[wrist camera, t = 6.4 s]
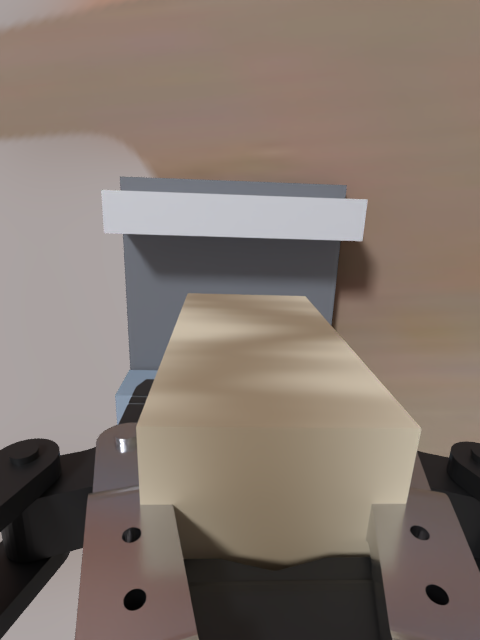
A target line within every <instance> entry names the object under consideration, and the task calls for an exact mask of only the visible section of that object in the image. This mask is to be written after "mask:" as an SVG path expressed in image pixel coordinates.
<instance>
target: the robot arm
mask: <svg viewBox="0 0 480 640" xmlns="http://www.w3.org/2000/svg"><path fill="white" fill-rule="evenodd" d="M153 382H154V379H146V380H144V381H143V382H142V383H140V384H139V385H138V386H136V388H135V390H134V392H133V394H132V397H131V398H130V401H129V404H128V405H127V407H126V409H125V411H124V413H123V416H122V418H121V420H120V422H119V424H118V425H116V426H113V427H111V428H109V429H107V430H105V431H104V432H103V433H102V434H100V436H99V437H98V439H97V442H96V447H94V448H92V449H89V450H85V451H81V452H76V453H70V454H65V455H60V452H59V447H58V445H57V444H56V443H55V442H53V441H51V440H48V439H28V440H24V441H20V442H17V443H14V444H11V445H9V446H7V447H5V448H3V449H2V450H0V532H1V533H2V539H3V541H2V542H0V639H1V638H2V637H3V636H4V634H5V633H6V632H7V631H8V630H9V628H10V627H11V626H12V625H13V624H14V622H15V621H16V620H17V619H18V617H19V616H20V615H21V614H22V613H23V611H24V610H25V609H26V608H27V607H28V605H29V604H30V603H31V602H32V600H33V599H34V598H35V597H36V596H37V594H38V593H39V592H40V591H41V590H42V588H43V587H44V586H45V585H46V583H47V582H48V581H49V580H50V579H51V577H52V576H53V575H54V574H55V573H56V571H57V570H58V569H59V568H60V566H61V565H62V564H63V563H64V561H65V560H66V559H67V557H68V555H69V553H70V551H73V550H76V549H80V548H83V554H82V565H81V576H80V588H79V599H78V610H77V621H76V632H75V640H480V443H475V442H459V443H456V444H454V445H453V446H452V447H451V452H450V456H449V458H448V457H443V456H438V455H433V454H428V453H423V452H419V451H417V453H416V458H415V463H414V468H413V473H412V478H411V483H410V488H409V493H408V498H407V503H406V504H372V505H371V511H370V517H369V523H368V529H367V535H366V541H368V544H369V549H370V557H328V558H322V559H319V560H315V561H311V562H308V563H304V564H300V565H297V566H293V567H289V568H286V569H282V570H277V571H273V570H267V569H263V568H258V567H254V566H250V565H245V564H241V563H236V562H232V561H228V560H223V559H183V555H182V550H181V545H180V539H179V534H178V529H177V524H176V519H175V513H174V508H173V505H140V493H139V474H138V454H137V434H136V426H137V423H138V420H139V418H140V415H141V413H142V410H143V408H144V405H145V402H146V400H147V397H148V395H149V392H150V389H151V387H152V384H153Z"/></svg>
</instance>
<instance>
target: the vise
mask: <svg viewBox="0 0 480 640" xmlns="http://www.w3.org/2000/svg"><path fill="white" fill-rule="evenodd" d="M120 186H121V187H120V188H121V191H120V190H101V195H102V209H103V224H104V233H116V234H118V233H119V234H123V242H124V260H125V279H126V295H127V296H126V298H127V316H128V334H129V352H130V370H158V369H159V366H160V364H161V361H162V358H163V356H164V353H165V351H166V348H167V346H168V343H169V340H170V338H171V335H172V333H173V330H174V327H175V325H176V322H177V320H178V317H179V314H180V312H181V309H182V307H183V304H184V302H185V299H186V296H187V294H188V293H200V294H240V295H280V296H306V298H307V299H308V300H309V301H310V302H311V303H312V304H313V306H314V307H315V308H316V309H317V310H318V311H319V312H320V313H321V315H322V316H323V317H324V318H325V319H326V320H327V321H328V323H329V324H330V325H331V324H332V315H333V306H334V297H335V287H336V278H337V269H338V260H339V251H340V242H341V241H362V240H363V232H364V224H365V216H366V208H367V200H366V199H345V196H346V187H347V185H324V184H298V183H272V182H246V181H220V180H194V179H168V178H142V177H120Z"/></svg>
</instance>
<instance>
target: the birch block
mask: <svg viewBox="0 0 480 640" xmlns="http://www.w3.org/2000/svg"><path fill="white" fill-rule="evenodd" d="M420 433H421V428H420V426H419V425H418V424H417V423H416V422H415V421H414V420H413V418H412V417H411V416H410V415H409V414H408V413H407V412H406V410H405V409H404V408H403V407H402V406H401V405H400V404H399V402H398V401H397V400H396V399H395V398H394V397H393V396H392V394H391V393H390V392H389V391H388V390H387V389H386V388H385V387H384V385H383V384H382V383H381V382H380V381H379V380H378V379H377V377H376V376H375V375H374V374H373V373H372V372H371V371H370V369H369V368H368V367H367V366H366V365H365V364H364V363H363V361H362V360H361V359H360V358H359V357H358V356H357V355H356V353H355V352H354V351H353V350H352V349H351V348H350V347H349V345H348V344H347V343H346V342H345V341H344V340H343V339H342V337H341V336H340V335H339V334H338V333H337V332H336V331H335V329H334V328H333V327H332V326H331V325H330V324H329V323H328V321H327V320H326V319H325V318H324V317H323V316H322V315H321V313H320V312H319V311H318V310H317V309H316V308H315V307H314V306H313V304H312V303H311V302H310V301H309V300H308V299H307V298H306V296H280V295H240V294H200V293H188V294H187V296H186V299H185V302H184V304H183V307H182V309H181V312H180V314H179V317H178V320H177V322H176V325H175V327H174V330H173V333H172V335H171V338H170V340H169V343H168V346H167V348H166V351H165V353H164V356H163V358H162V361H161V364H160V366H159V369H158V371H157V374H156V377H155V379H154V382H153V384H152V387H151V389H150V392H149V395H148V397H147V400H146V402H145V405H144V408H143V410H142V413H141V415H140V418H139V420H138V423H137V426H136V434H137V454H138V474H139V493H140V505H173V508H174V513H175V519H176V524H177V529H178V534H179V539H180V545H181V550H182V555H183V559H223V560H228V561H232V562H236V563H241V564H245V565H250V566H254V567H258V568H263V569H267V570H273V571H277V570H282V569H286V568H289V567H293V566H297V565H300V564H304V563H308V562H311V561H315V560H319V559H322V558H328V557H370V549H369V544H368V541H366V535H367V529H368V523H369V517H370V511H371V505H372V504H406V503H407V498H408V493H409V488H410V483H411V478H412V473H413V468H414V463H415V458H416V453H417V448H418V443H419V438H420Z"/></svg>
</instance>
